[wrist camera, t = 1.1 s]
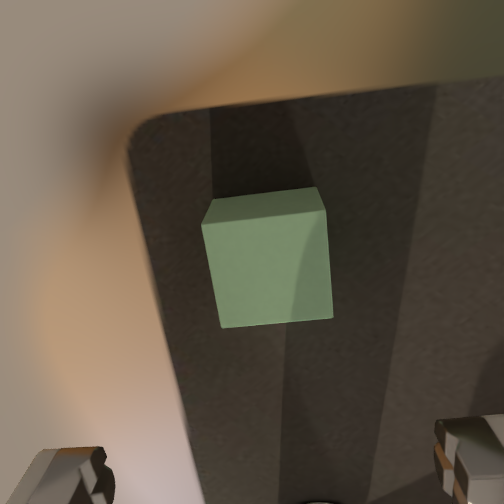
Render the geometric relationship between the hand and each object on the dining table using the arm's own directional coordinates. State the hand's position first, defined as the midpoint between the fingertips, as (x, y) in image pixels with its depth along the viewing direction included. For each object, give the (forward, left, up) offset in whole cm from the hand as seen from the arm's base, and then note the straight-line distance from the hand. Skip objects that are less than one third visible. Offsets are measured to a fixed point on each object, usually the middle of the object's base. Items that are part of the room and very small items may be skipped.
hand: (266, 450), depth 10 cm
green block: (0, 0, -14) cm, 14 cm away
